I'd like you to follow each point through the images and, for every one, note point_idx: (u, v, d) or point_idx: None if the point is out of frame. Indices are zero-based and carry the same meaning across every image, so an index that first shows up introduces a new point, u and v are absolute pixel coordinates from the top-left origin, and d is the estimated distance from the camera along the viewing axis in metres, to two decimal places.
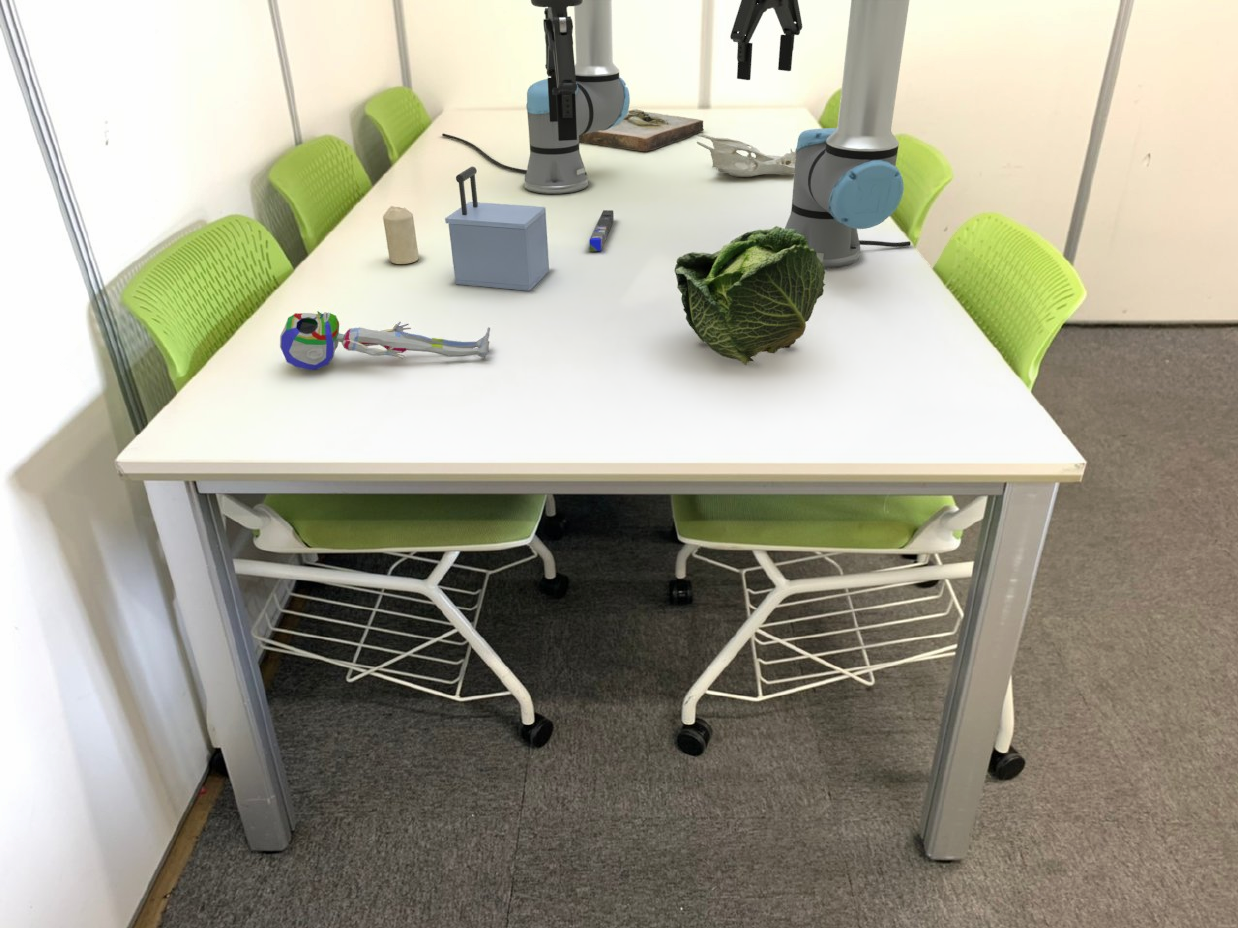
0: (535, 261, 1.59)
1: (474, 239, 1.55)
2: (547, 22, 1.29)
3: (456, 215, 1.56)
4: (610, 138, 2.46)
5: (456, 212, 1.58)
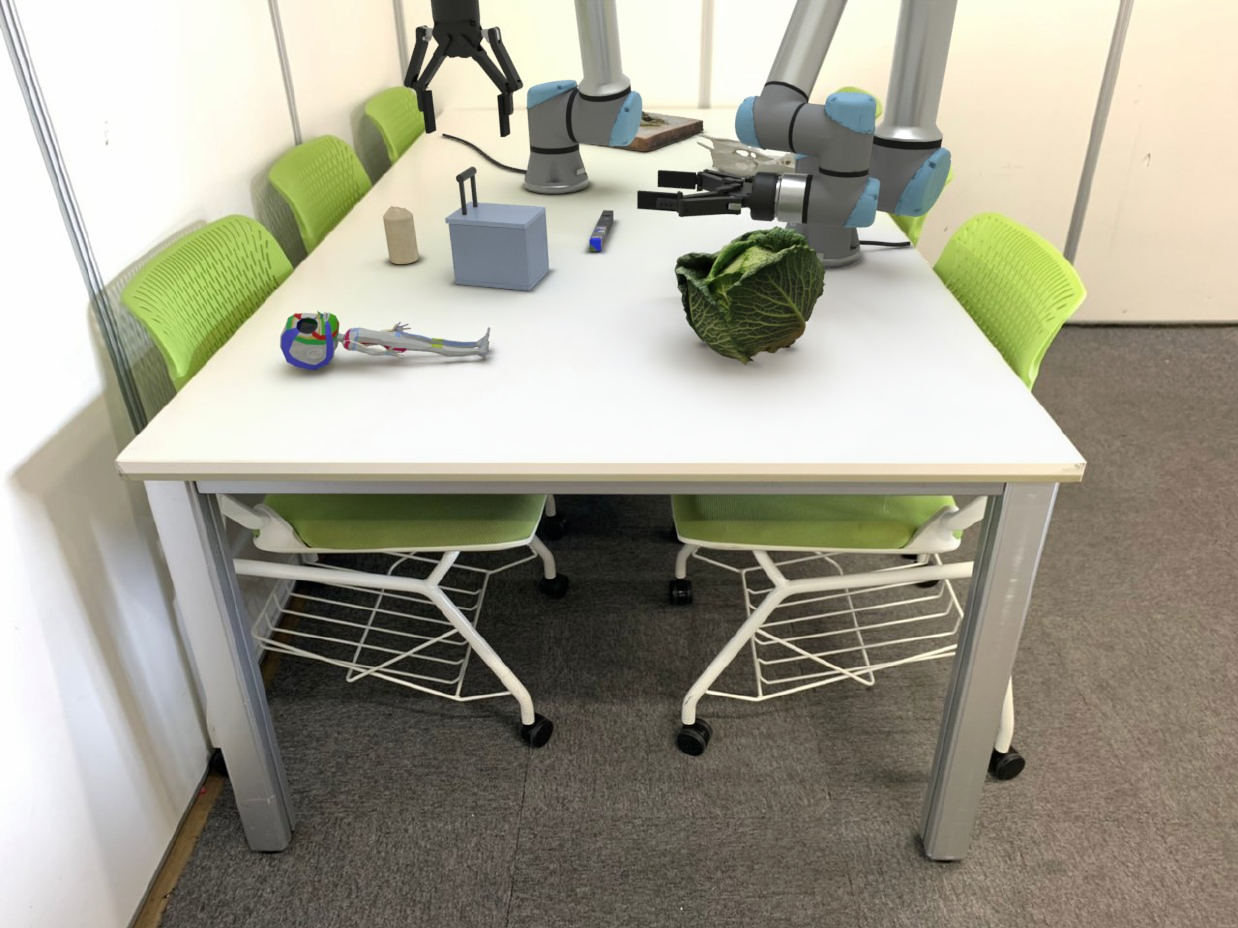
0: (535, 261, 1.59)
1: (474, 239, 1.55)
2: None
3: (456, 215, 1.56)
4: None
5: (456, 212, 1.58)
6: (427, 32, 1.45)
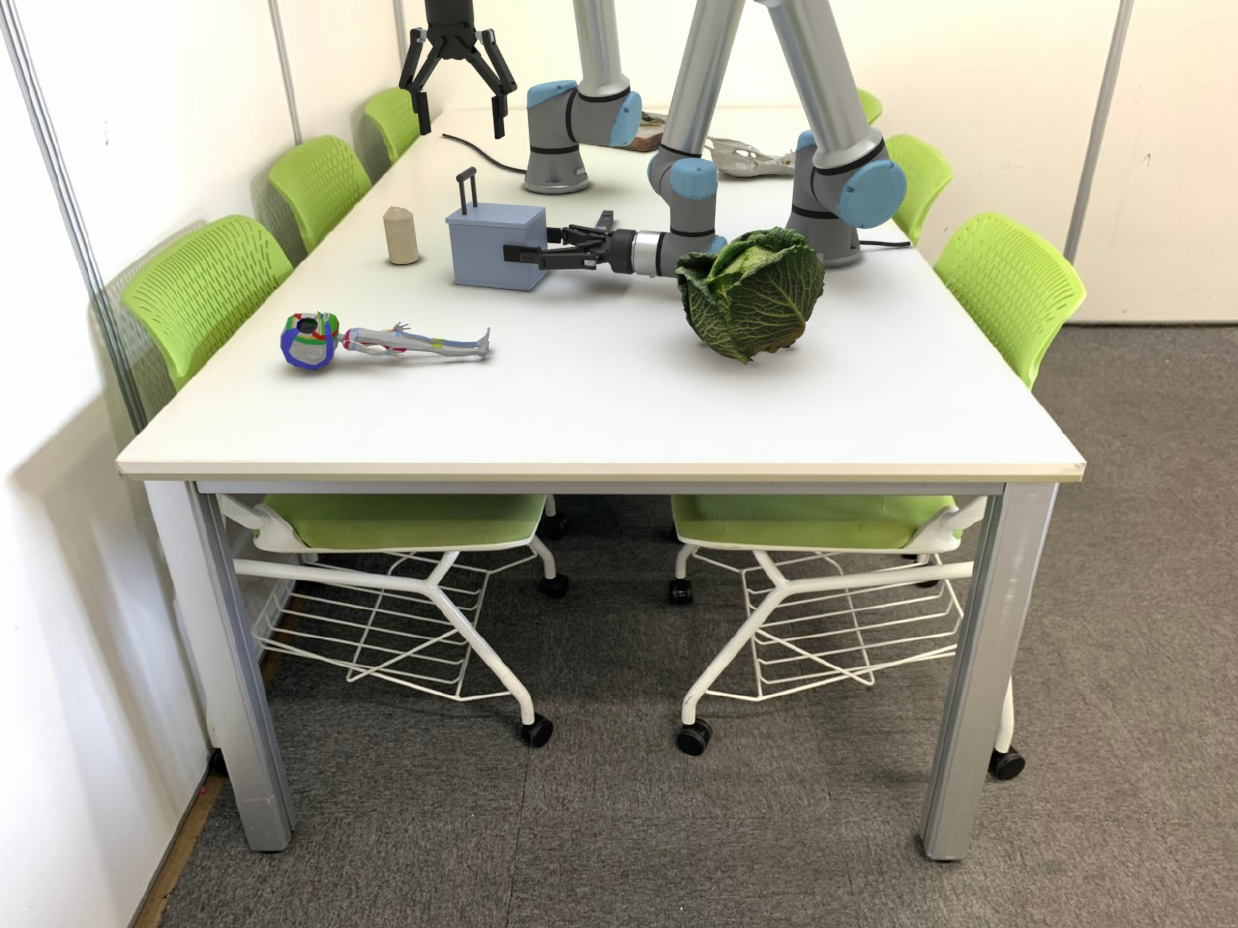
0: None
1: (474, 239, 1.55)
2: None
3: (456, 215, 1.56)
4: None
5: (456, 212, 1.58)
6: (421, 34, 1.44)
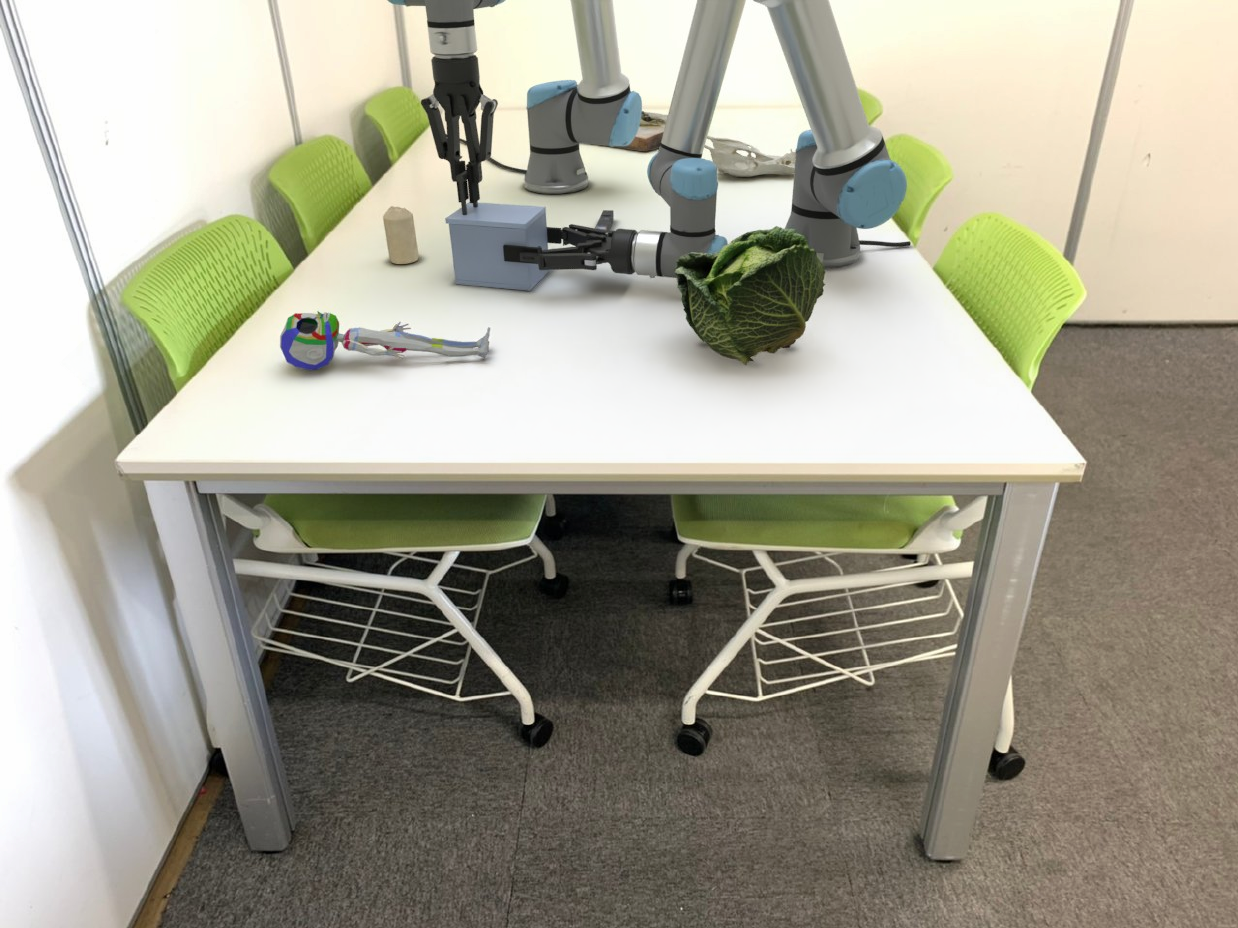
0: None
1: (474, 239, 1.55)
2: None
3: (456, 215, 1.56)
4: None
5: (456, 212, 1.58)
6: (431, 99, 1.49)
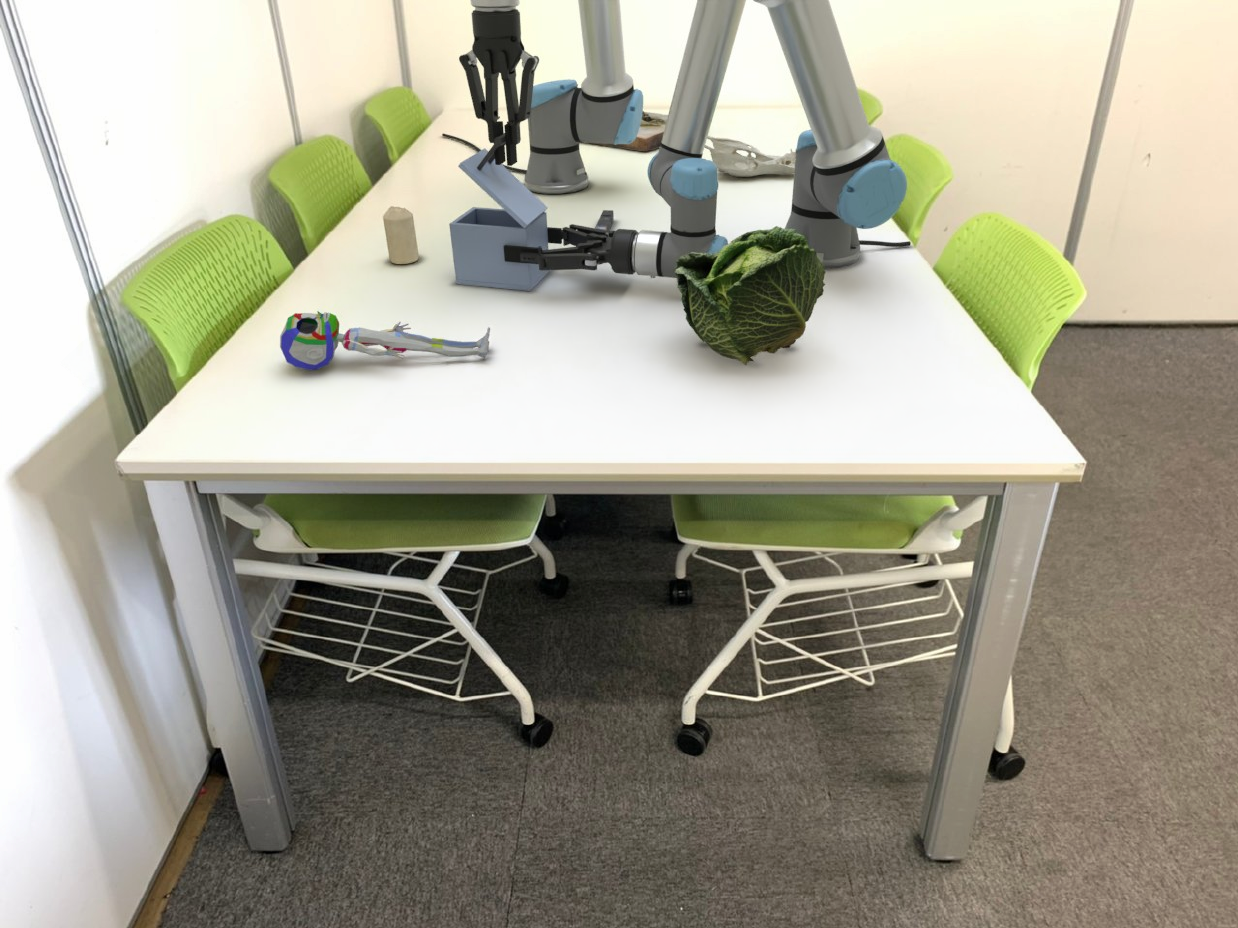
0: None
1: (475, 239, 1.56)
2: None
3: (471, 165, 1.51)
4: None
5: (472, 159, 1.52)
6: (470, 56, 1.44)
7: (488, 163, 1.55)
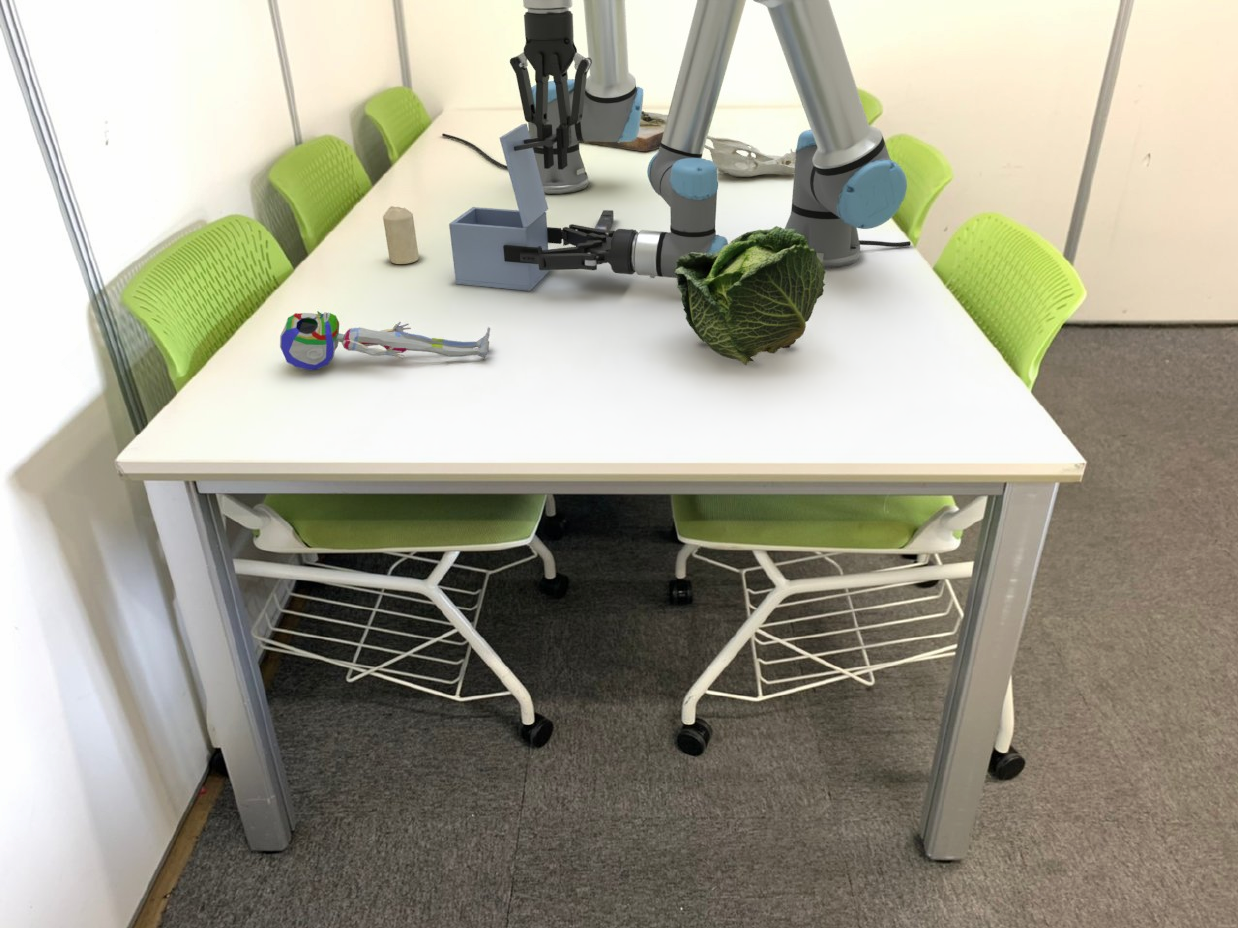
0: None
1: (475, 239, 1.56)
2: None
3: (510, 142, 1.47)
4: None
5: (513, 135, 1.48)
6: (521, 58, 1.42)
7: (523, 143, 1.51)
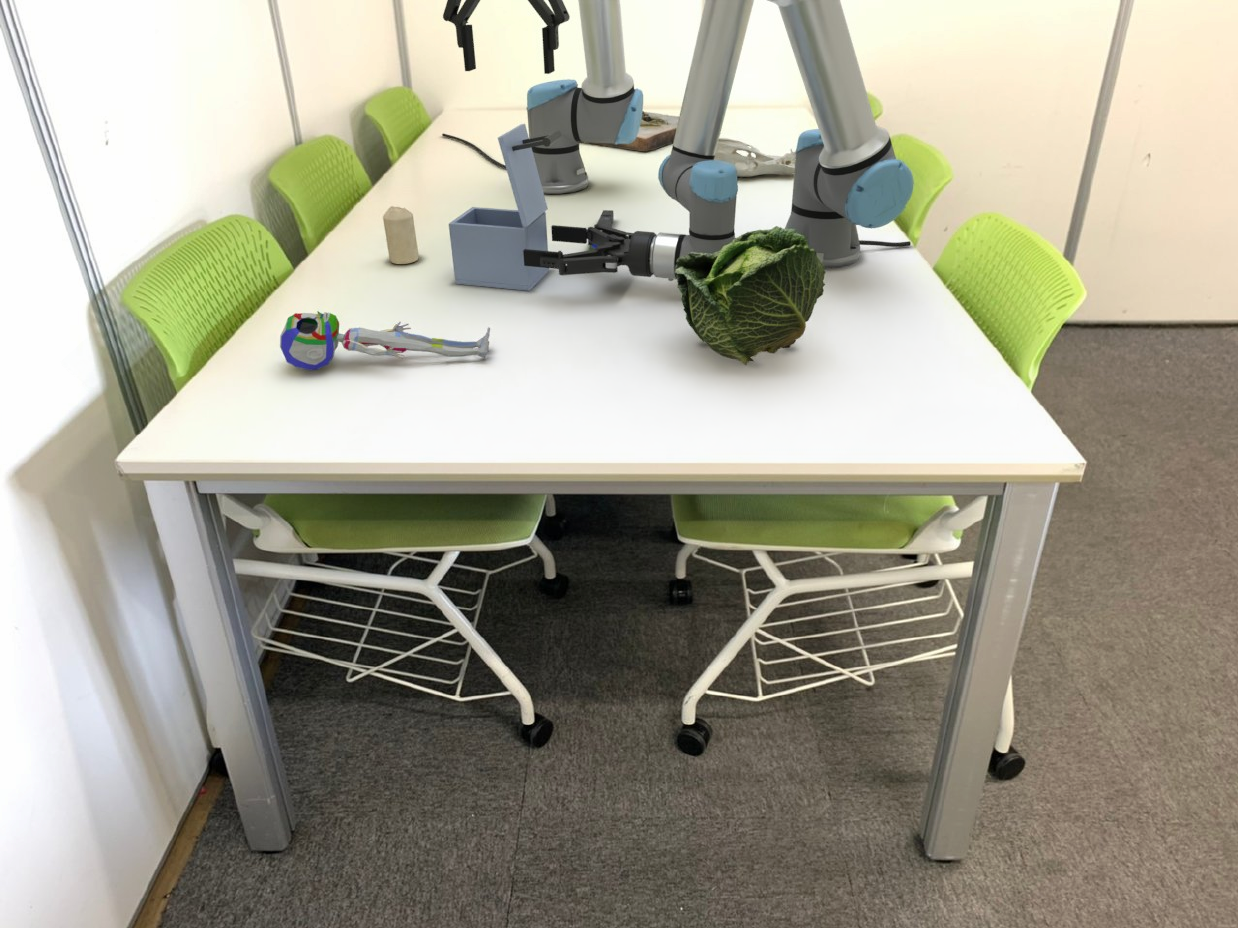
0: None
1: (474, 239, 1.56)
2: None
3: (509, 142, 1.47)
4: None
5: (511, 135, 1.48)
6: None
7: (522, 143, 1.51)
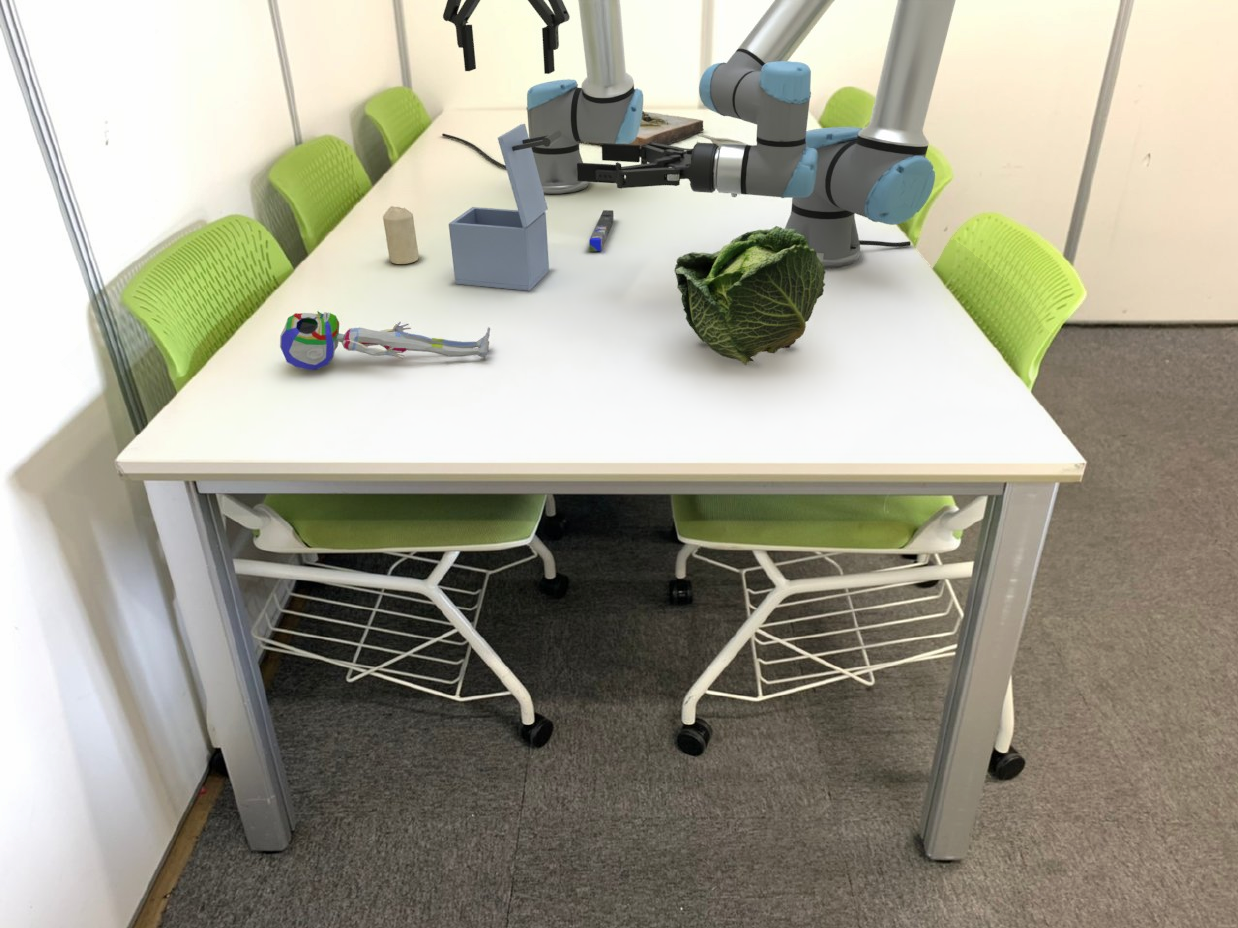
0: (535, 261, 1.59)
1: (474, 239, 1.56)
2: None
3: (509, 142, 1.47)
4: None
5: (511, 135, 1.48)
6: None
7: (522, 143, 1.51)
